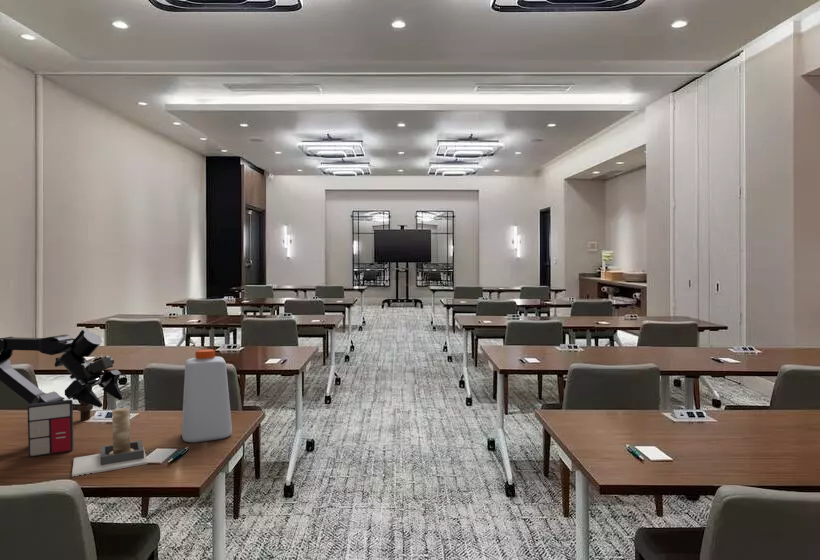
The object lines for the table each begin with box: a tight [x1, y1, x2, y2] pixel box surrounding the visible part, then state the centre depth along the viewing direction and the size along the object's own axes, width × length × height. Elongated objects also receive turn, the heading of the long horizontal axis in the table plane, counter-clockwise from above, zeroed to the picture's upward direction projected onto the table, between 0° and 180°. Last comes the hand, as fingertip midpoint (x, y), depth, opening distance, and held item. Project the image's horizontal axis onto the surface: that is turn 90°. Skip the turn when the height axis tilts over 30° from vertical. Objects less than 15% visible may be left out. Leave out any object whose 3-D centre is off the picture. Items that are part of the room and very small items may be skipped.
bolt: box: [77, 401, 94, 421], centre depth 197 cm, size 6×5×15 cm
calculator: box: [26, 399, 74, 458], centre depth 161 cm, size 11×4×15 cm, turn 117°
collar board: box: [71, 440, 148, 478], centre depth 153 cm, size 18×15×3 cm
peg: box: [109, 407, 134, 455], centre depth 156 cm, size 6×6×13 cm
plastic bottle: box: [181, 348, 233, 444], centre depth 177 cm, size 15×15×28 cm
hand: (111, 402), depth 168 cm, fingers open, 9 cm apart
